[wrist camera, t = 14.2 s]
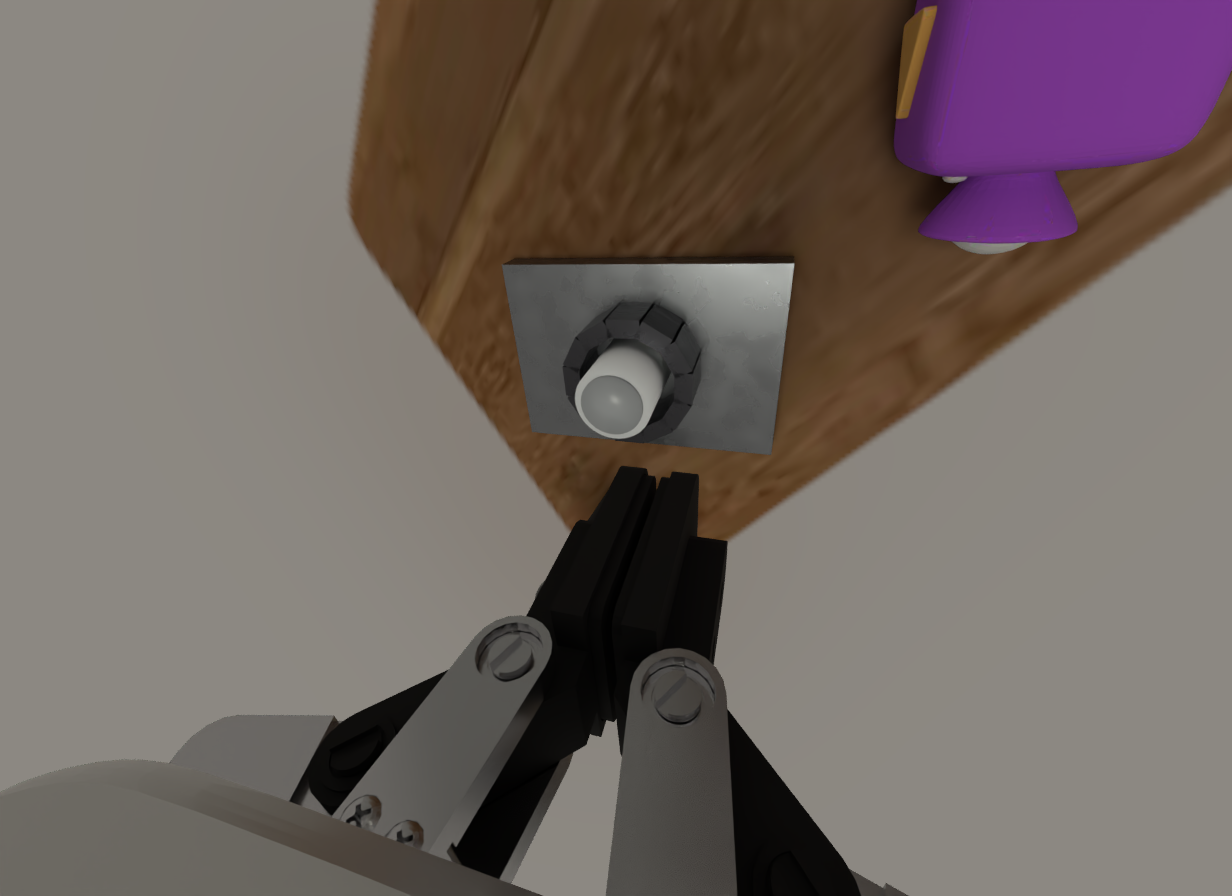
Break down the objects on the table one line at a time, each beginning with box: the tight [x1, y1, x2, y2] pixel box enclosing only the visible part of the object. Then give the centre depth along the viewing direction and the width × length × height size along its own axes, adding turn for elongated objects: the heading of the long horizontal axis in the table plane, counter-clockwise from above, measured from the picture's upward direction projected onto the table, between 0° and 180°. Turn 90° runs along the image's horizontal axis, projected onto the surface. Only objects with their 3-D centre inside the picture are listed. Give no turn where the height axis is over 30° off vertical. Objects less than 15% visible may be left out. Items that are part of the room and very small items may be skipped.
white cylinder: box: [575, 338, 671, 439], centre depth 34 cm, size 5×5×7 cm
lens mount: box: [502, 256, 794, 455], centre depth 36 cm, size 14×20×6 cm
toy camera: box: [894, 0, 1232, 254], centre depth 21 cm, size 11×14×10 cm
